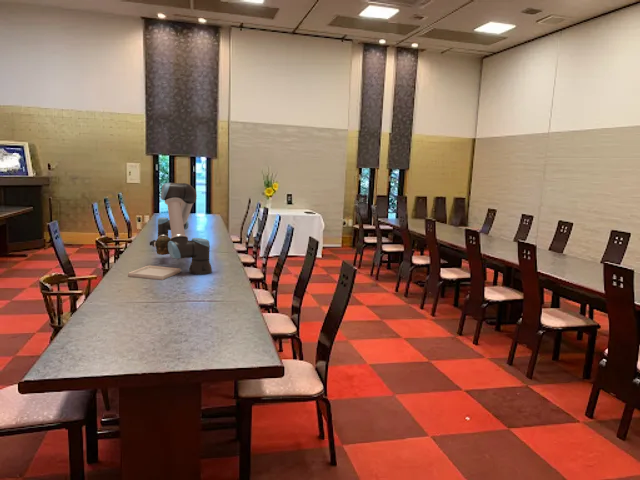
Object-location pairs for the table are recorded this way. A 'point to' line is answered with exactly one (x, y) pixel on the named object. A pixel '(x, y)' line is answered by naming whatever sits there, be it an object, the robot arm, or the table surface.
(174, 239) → the robot arm
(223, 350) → the table surface
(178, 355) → the table surface
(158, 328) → the table surface
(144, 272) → the tray
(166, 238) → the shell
